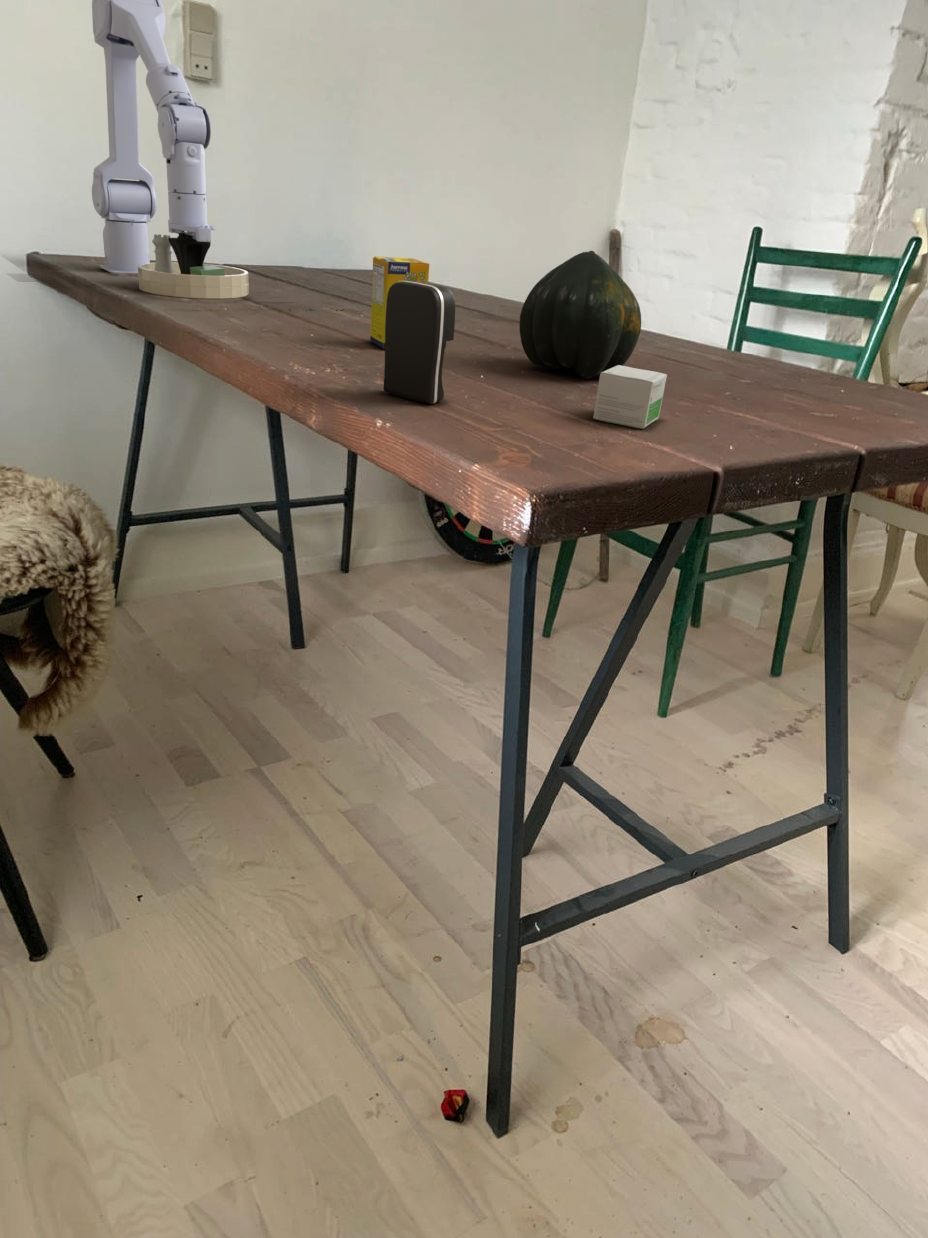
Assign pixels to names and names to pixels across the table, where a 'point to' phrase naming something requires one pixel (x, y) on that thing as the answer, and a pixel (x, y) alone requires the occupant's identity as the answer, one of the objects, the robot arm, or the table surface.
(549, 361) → the squash
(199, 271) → the block
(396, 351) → the battery charger
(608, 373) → the small box
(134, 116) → the robot arm
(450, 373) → the table surface
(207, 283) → the bowl
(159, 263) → the rook chess piece
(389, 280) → the supplement box
